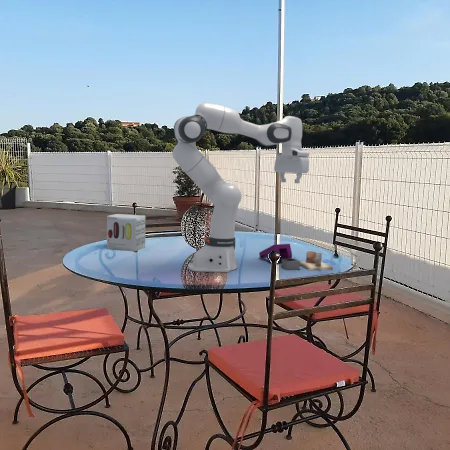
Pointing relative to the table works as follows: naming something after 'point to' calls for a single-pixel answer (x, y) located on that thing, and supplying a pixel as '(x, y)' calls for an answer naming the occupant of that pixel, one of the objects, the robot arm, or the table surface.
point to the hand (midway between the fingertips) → (290, 182)
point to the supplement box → (126, 232)
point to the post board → (312, 266)
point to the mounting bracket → (280, 248)
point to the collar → (291, 264)
